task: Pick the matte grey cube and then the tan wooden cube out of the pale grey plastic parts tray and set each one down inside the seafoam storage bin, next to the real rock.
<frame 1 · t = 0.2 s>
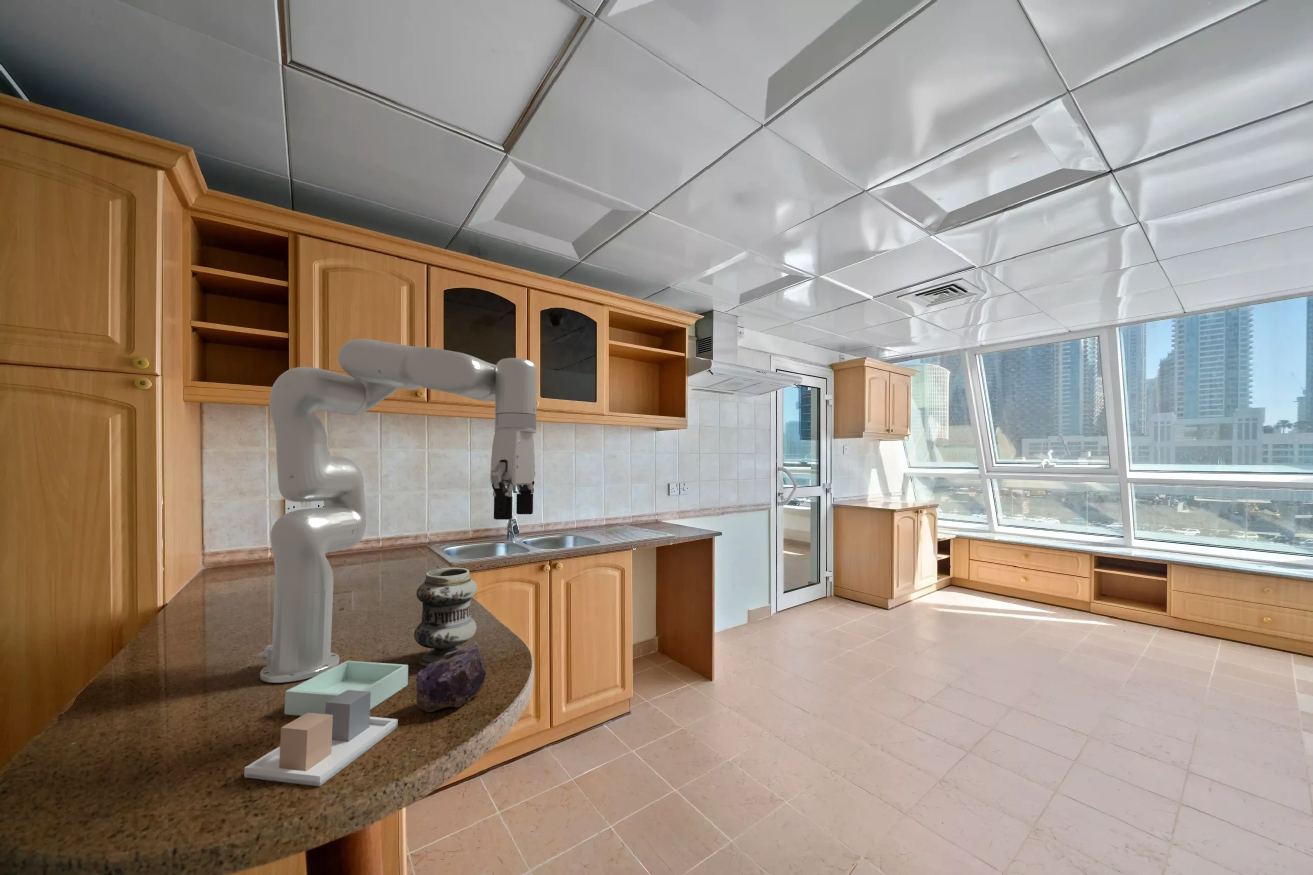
hand: (514, 516, 90), 31 cm above the countertop, fingers open, 9 cm apart
seafoam storage bin: (349, 698, 83), on the countertop
rock: (457, 703, 82), on the countertop
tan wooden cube: (305, 761, 65), resting on parts tray
matte grey cube: (347, 732, 72), resting on parts tray
parts tray: (327, 749, 68), on the countertop
apothecary jar: (445, 659, 101), on the countertop
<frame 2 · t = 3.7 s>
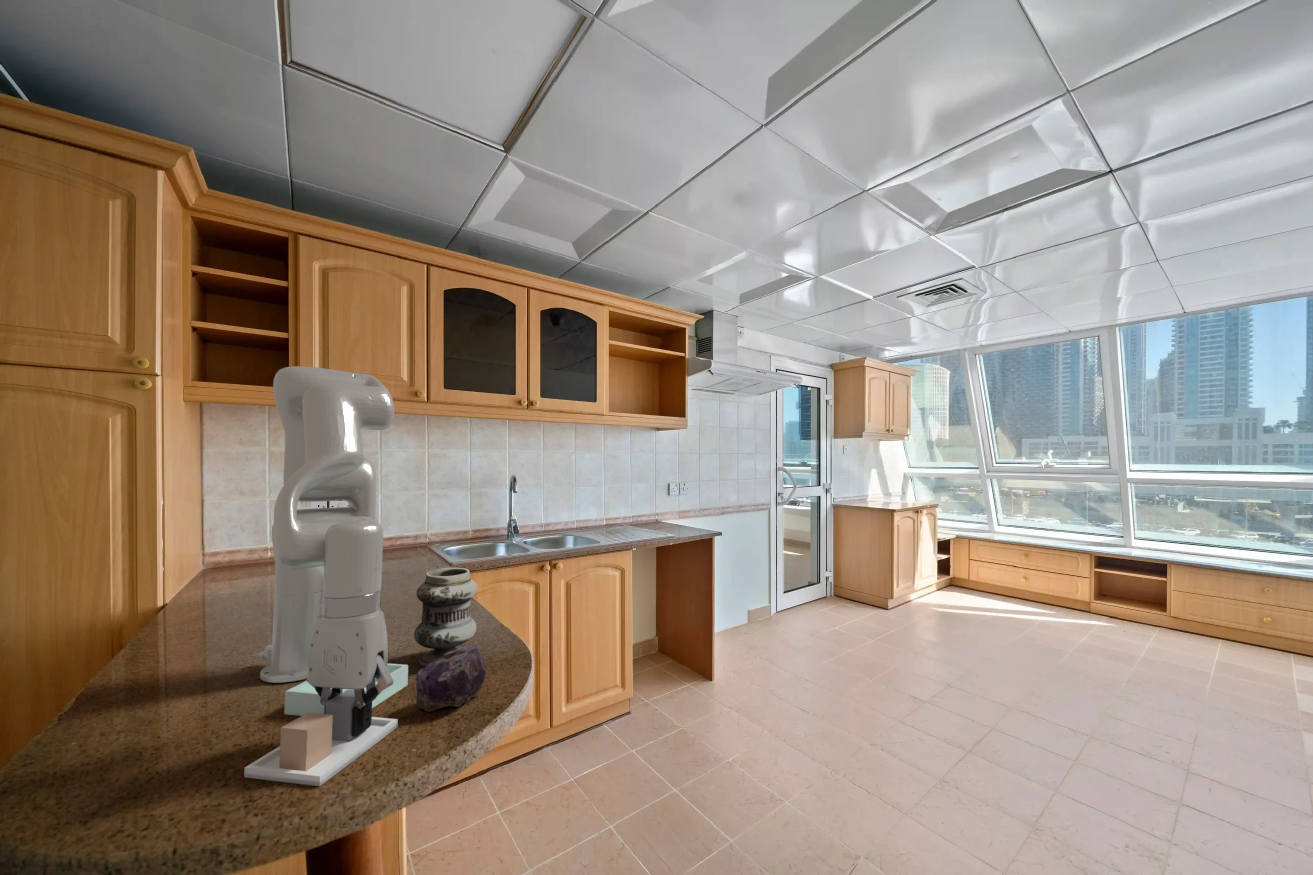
hand: (347, 728, 72), 1 cm above the countertop, fingers closed on matte grey cube, 3 cm apart
matte grey cube: (347, 732, 72), point 1 cm above the countertop, touching gripper, parts tray
everything else where it was.
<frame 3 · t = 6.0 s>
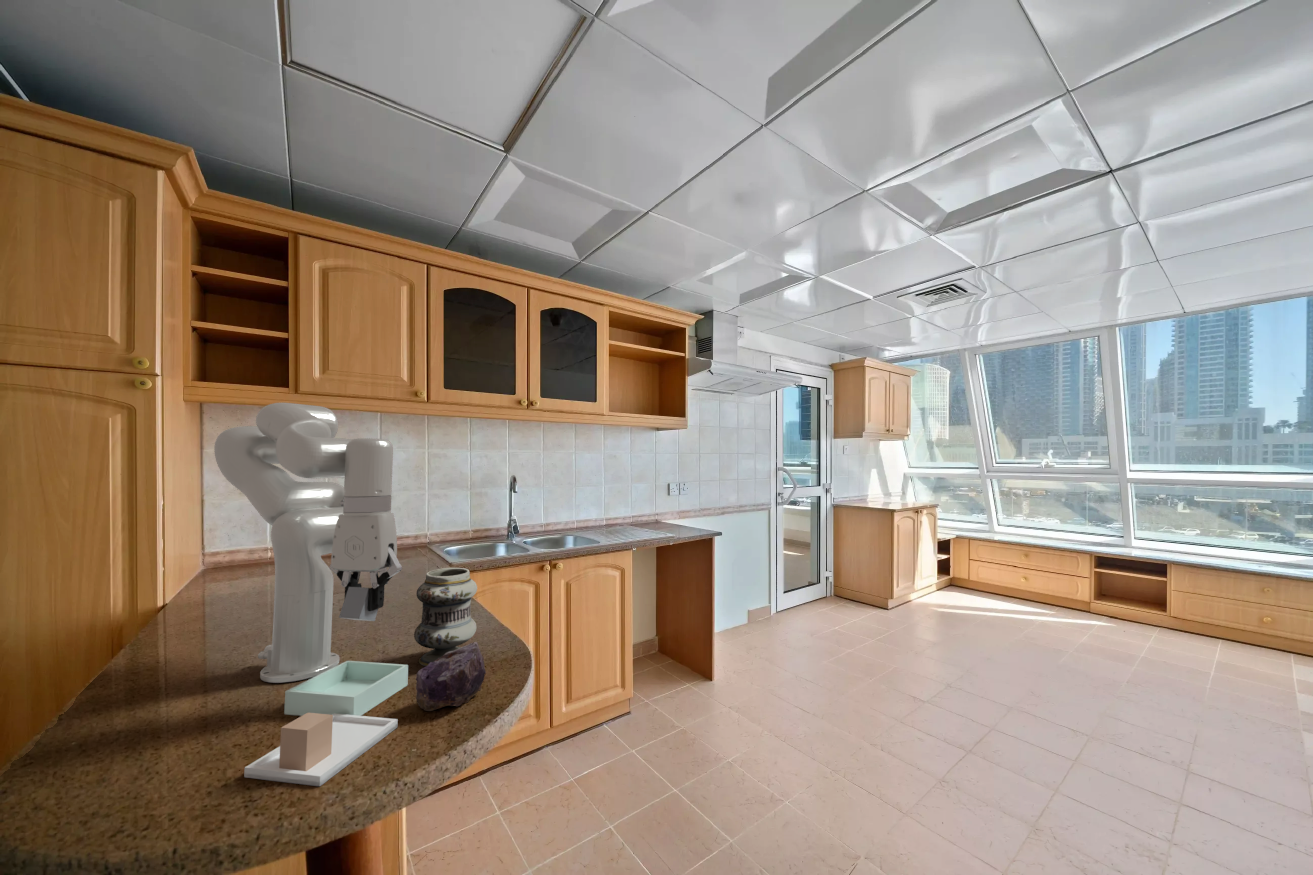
hand: (364, 607, 87), 15 cm above the countertop, fingers closed on matte grey cube, 4 cm apart
matte grey cube: (357, 619, 85), point 13 cm above the countertop, tilted 22°, touching gripper
everything else where it was.
when the fingers open (3 cm above the countertop, at t = 8.3 s): matte grey cube stays where it is, resting on seafoam storage bin.
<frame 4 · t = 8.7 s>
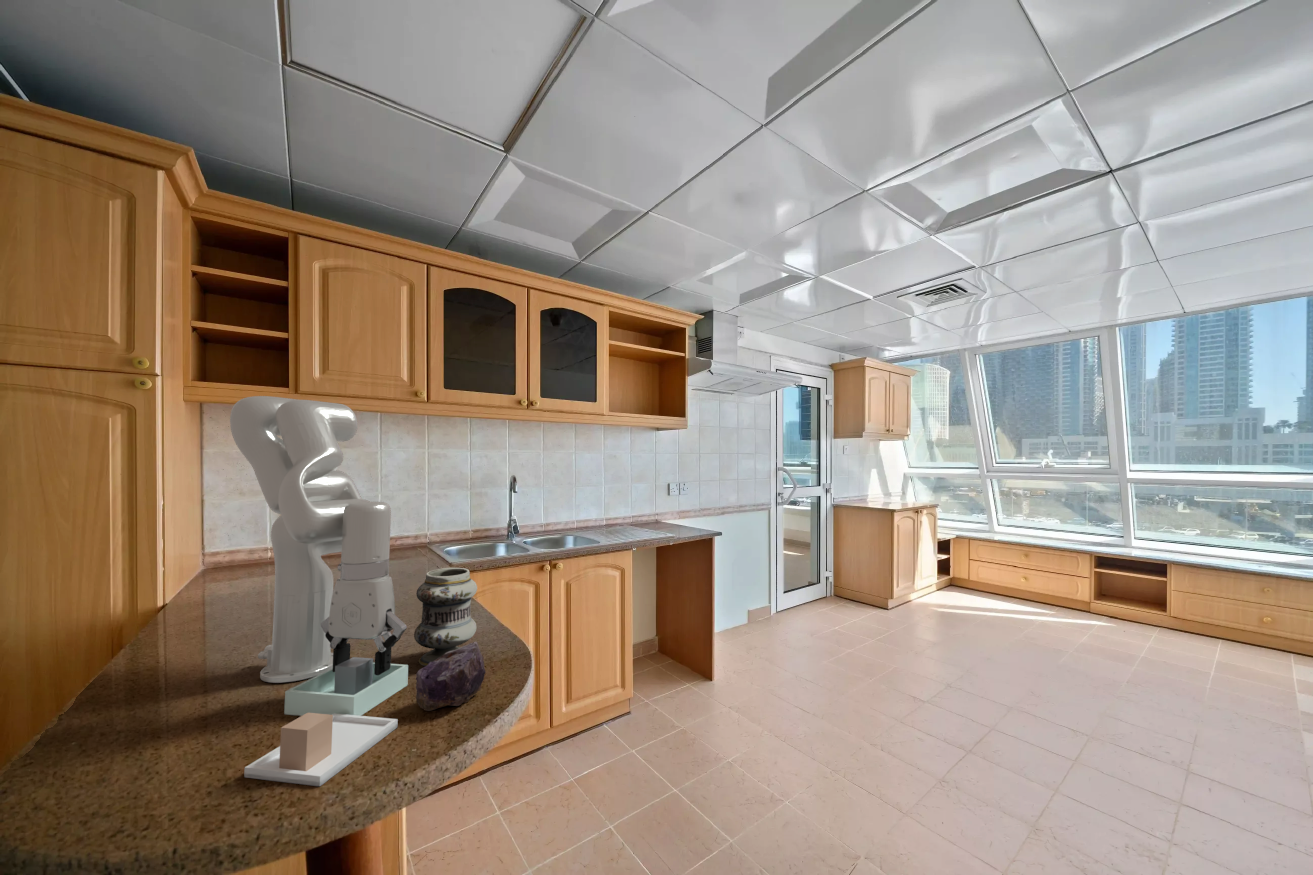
hand: (361, 669, 86), 4 cm above the countertop, fingers open, 7 cm apart
matte grey cube: (353, 692, 84), point 1 cm above the countertop, touching seafoam storage bin
everything else where it was.
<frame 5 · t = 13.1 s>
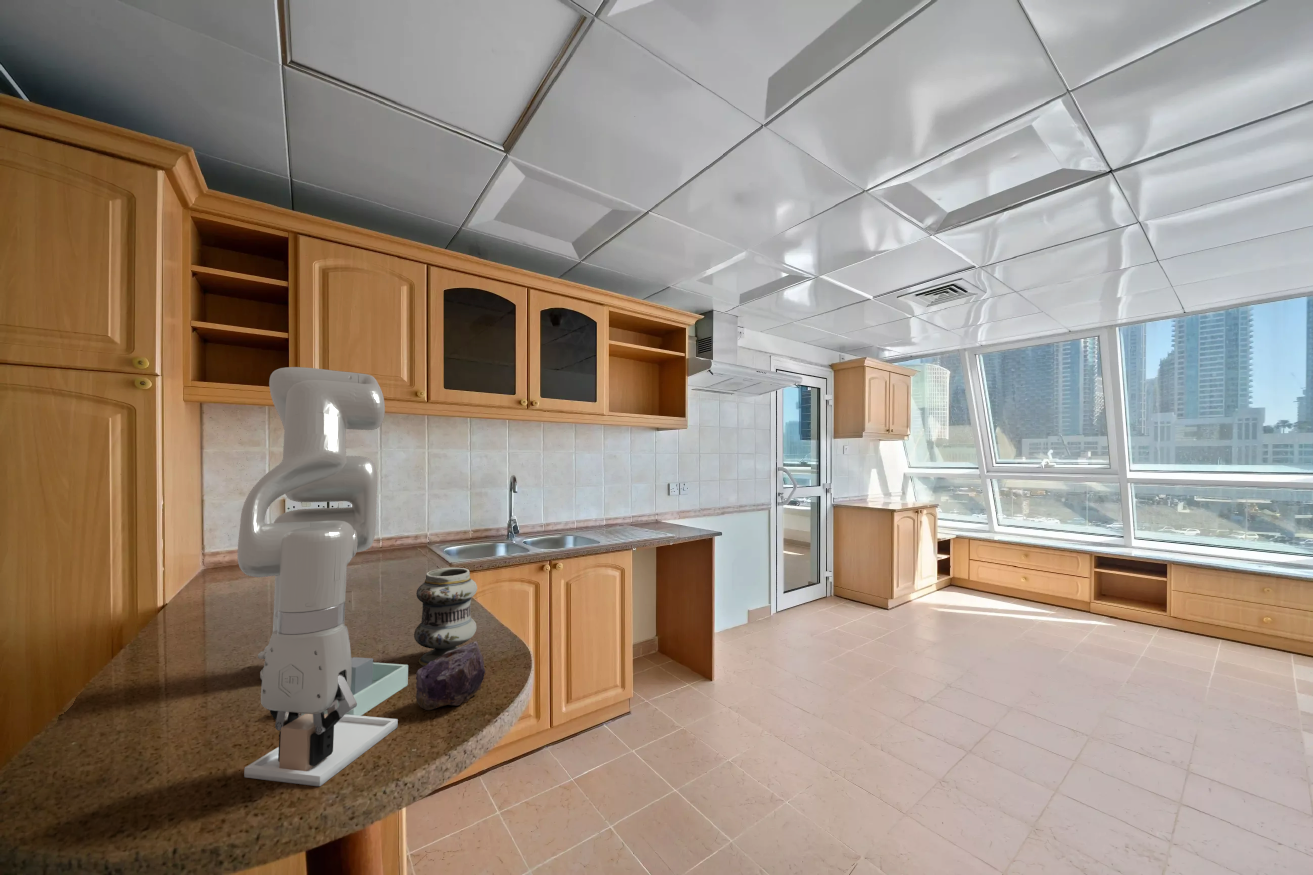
hand: (306, 756, 65), 1 cm above the countertop, fingers closed on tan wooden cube, 4 cm apart
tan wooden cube: (305, 761, 65), point 1 cm above the countertop, touching gripper, parts tray
everything else where it was.
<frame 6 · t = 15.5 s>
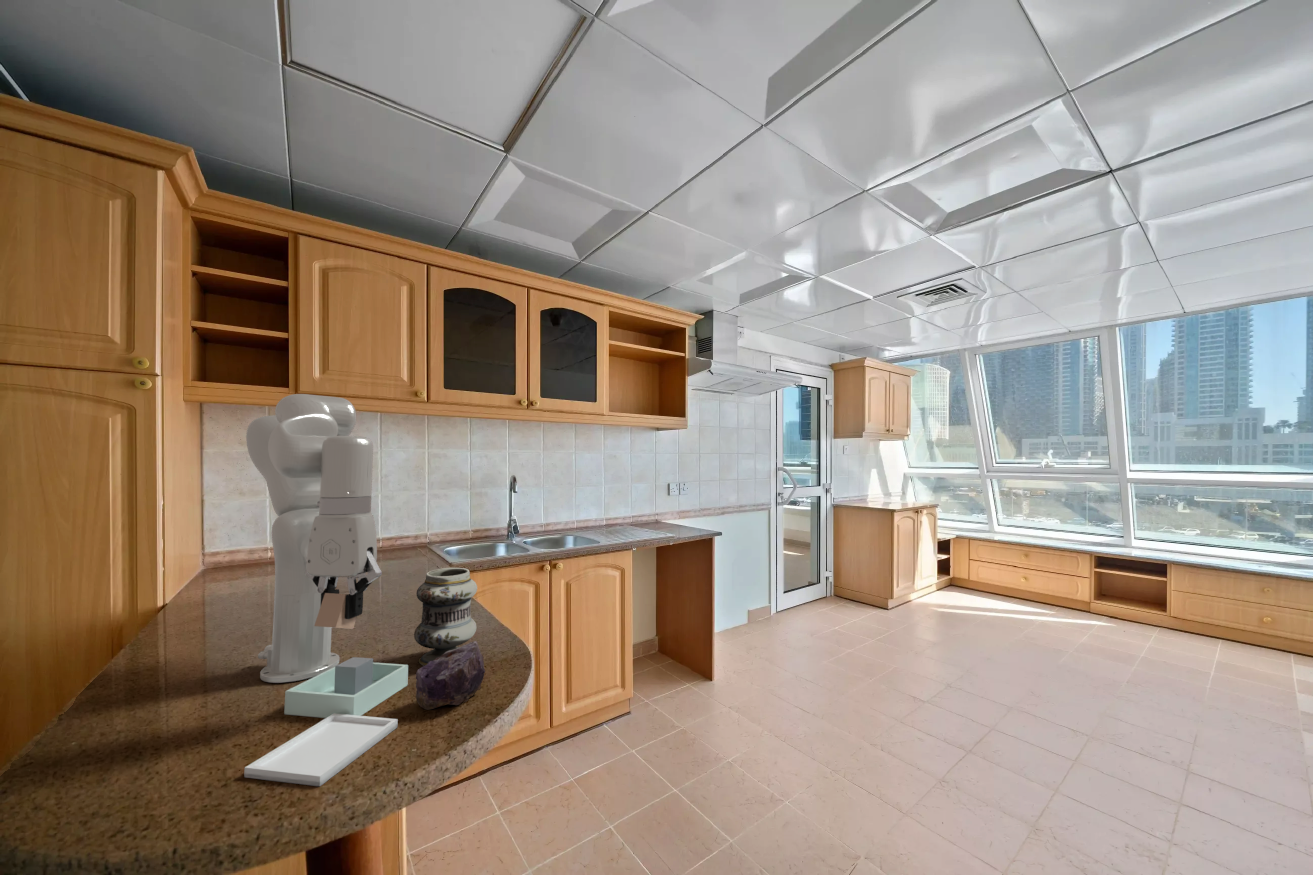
hand: (341, 614, 82), 15 cm above the countertop, fingers closed on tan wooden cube, 4 cm apart
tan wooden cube: (334, 627, 80), point 13 cm above the countertop, tilted 21°, touching gripper
everything else where it was.
when the fingers open (4 cm above the countertop, at t = 17.9 s): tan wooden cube stays where it is, resting on seafoam storage bin, matte grey cube.
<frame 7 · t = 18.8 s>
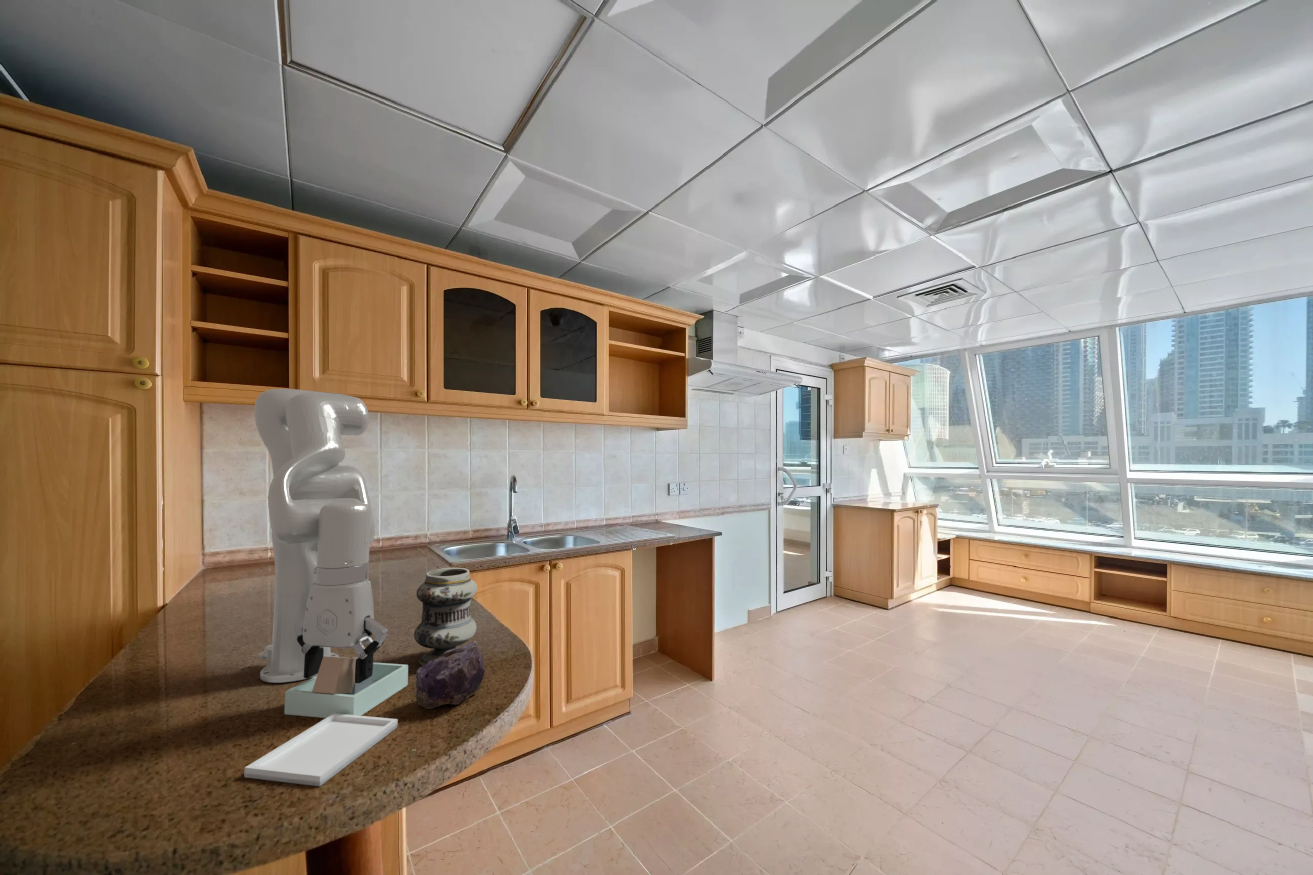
hand: (338, 677, 81), 5 cm above the countertop, fingers open, 9 cm apart
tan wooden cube: (332, 692, 79), point 3 cm above the countertop, tilted 22°, touching seafoam storage bin, matte grey cube
matte grey cube: (353, 692, 84), point 1 cm above the countertop, touching seafoam storage bin, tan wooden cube
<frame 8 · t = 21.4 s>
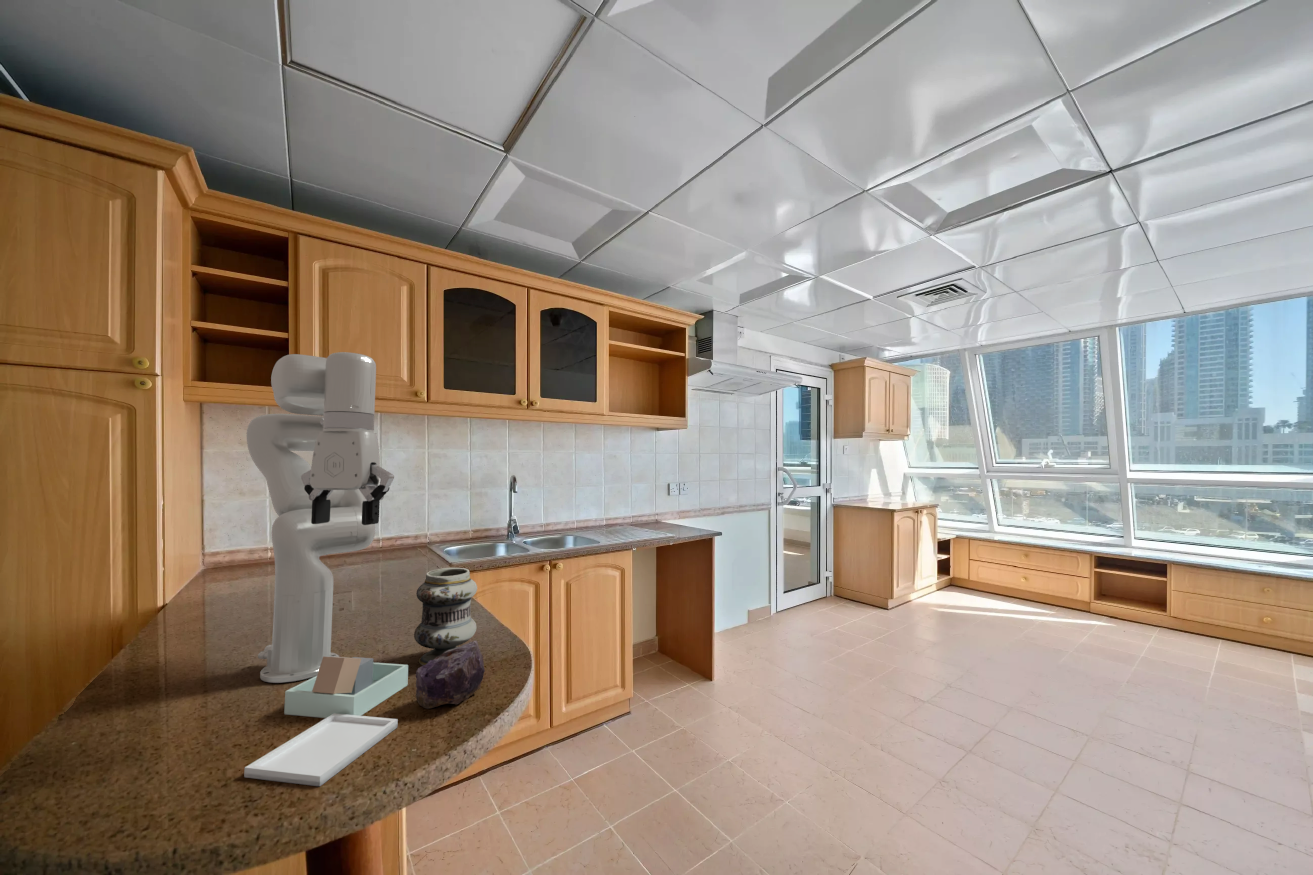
hand: (345, 523, 83), 30 cm above the countertop, fingers open, 9 cm apart
at the end: matte grey cube inside the target area on the seafoam storage bin (0.9 cm from its centre), point 0.6 cm above the seafoam storage bin's base; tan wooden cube inside the target area on the seafoam storage bin (4.4 cm from its centre), point 3.0 cm above the seafoam storage bin's base; the gripper is holding nothing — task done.
